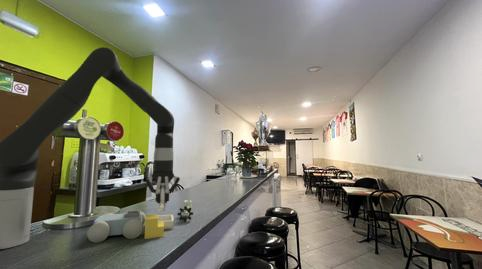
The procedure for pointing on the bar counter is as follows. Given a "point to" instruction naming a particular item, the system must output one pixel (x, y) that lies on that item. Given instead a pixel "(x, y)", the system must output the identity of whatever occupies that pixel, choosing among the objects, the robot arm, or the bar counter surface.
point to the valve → (186, 210)
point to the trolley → (117, 225)
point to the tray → (167, 221)
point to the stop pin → (162, 197)
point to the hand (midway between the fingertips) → (162, 202)
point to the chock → (153, 227)
